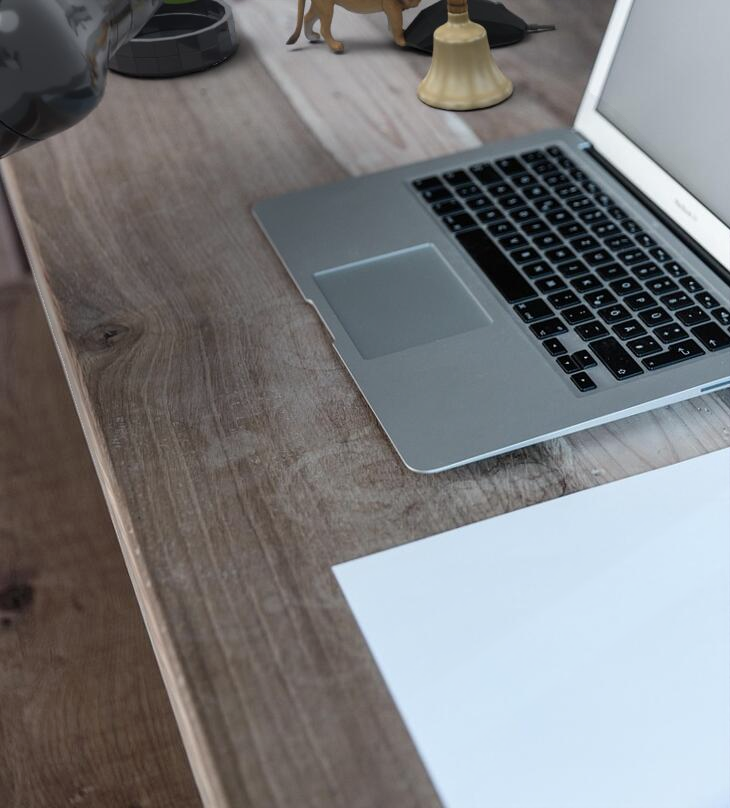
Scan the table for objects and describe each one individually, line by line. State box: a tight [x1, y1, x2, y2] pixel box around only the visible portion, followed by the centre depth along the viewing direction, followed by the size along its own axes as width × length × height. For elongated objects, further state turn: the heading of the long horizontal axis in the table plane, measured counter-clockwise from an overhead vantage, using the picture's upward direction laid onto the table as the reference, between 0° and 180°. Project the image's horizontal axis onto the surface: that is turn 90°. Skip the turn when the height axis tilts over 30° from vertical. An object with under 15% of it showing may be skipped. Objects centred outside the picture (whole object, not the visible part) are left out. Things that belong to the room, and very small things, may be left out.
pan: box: [108, 0, 239, 78], centre depth 111 cm, size 12×12×4 cm
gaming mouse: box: [403, 0, 556, 54], centre depth 114 cm, size 6×15×4 cm, turn 111°
